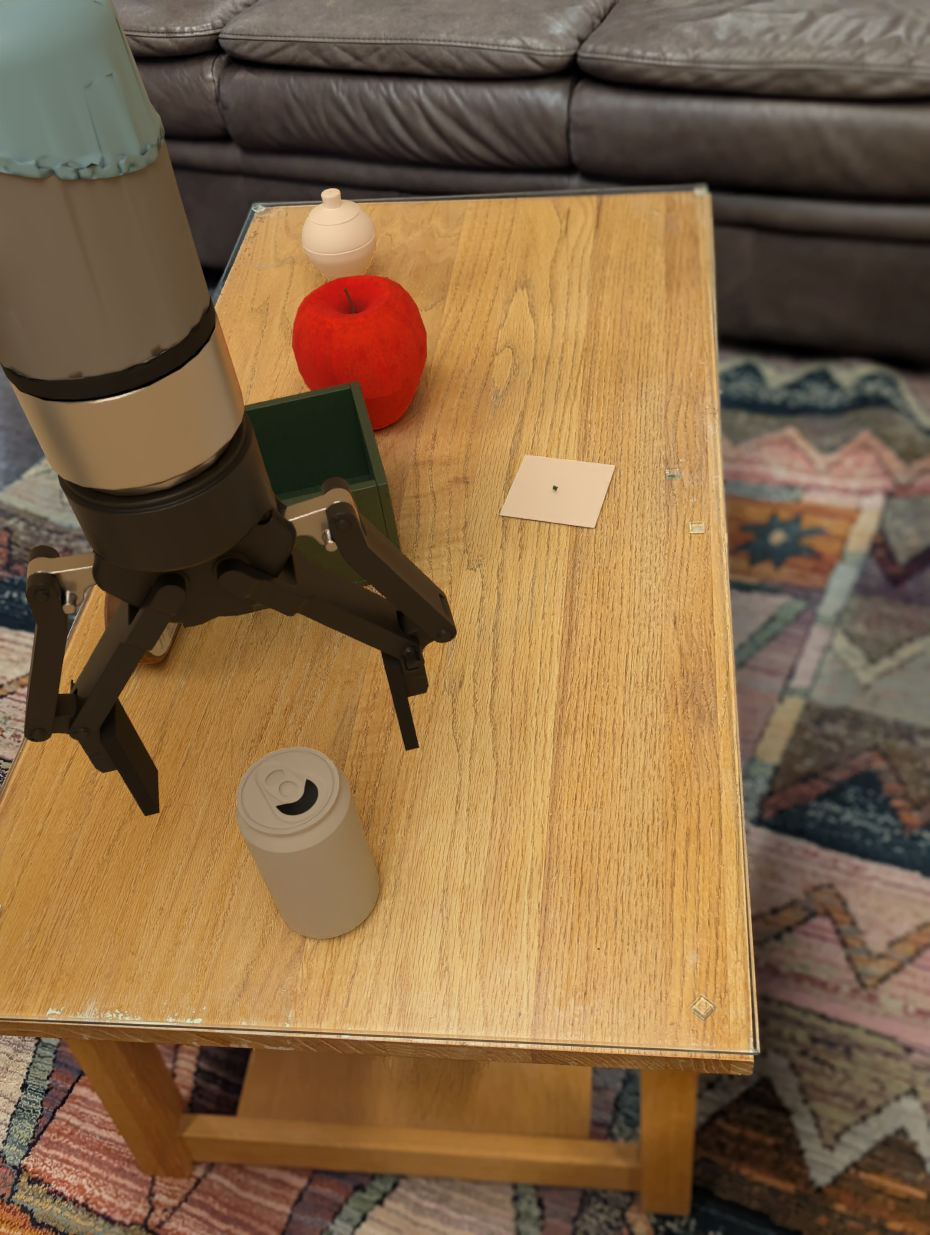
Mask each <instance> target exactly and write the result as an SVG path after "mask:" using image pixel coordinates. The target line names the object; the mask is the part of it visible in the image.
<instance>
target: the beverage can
mask: <svg viewBox="0 0 930 1235" xmlns="http://www.w3.org/2000/svg"><path fill="white" fill-rule="evenodd" d="M235 797H236V800H235V801H236V803H235V820H236V824H237V827H238V829H239V832H240V834H241V836H242V837H243V840H244V842H245V844H246V846H247V849H248V850H249V852H250V855H251V857H252V859H253V861H254V864H255V865H256V867H257V869H258V871H259V873H260V875H261V877H262V880H263V882H264V884H265V886H266V888H267V890H268V892H269V894H270V896H271V898H272V901H273V902H274V905H275V907H276V909H277V911H278V913H279V916H280V917H281V918H282V920H283V922H284V923H285V924H286V925H287V927H288V928H290V929H291V930H292V931H293V932H295V933H297V934H298V935H301V936H303V937H306V938H310V939H314V940H327V939H333V938H337V937H339V936H343V935H346V934H348V933H350V932H351V931H353V930H354V929H356V928H358V927H360V925H361V924H362V923H363V922H364V921H365V920H367V918H368V917H369V916H370V914H371V913H372V911H373V909H374V908H375V906H376V904H377V901H378V898H379V893H380V876H379V872H378V869H377V866H376V863H375V860H374V857H373V853H372V851H371V847H370V844H369V840H368V839H367V835H366V832H365V829H364V826H363V823H362V819H361V816H360V813H359V811H358V807H357V804H356V801H355V797H354V795H353V792H352V788H351V785H350V783H349V780H348V777H347V776H346V774H345V773H344V770H343V769H342V768H341V767H340V766H338V765H337V764H336V763H335V762H334V761H333V760H332V759H331V757H329V756H328V755H327V754H325V753H324V752H322V751H320V750H318V749H315V748H312V747H308V746H299V745H298V746H297V745H296V746H295V745H294V746H287V747H282V748H277V749H276V750H273V751H269V752H268V753H266V754H265V755H263V756H261V757H260V758H258V759H257V760H256V761H255V762H253V763H252V764H251V765H250V766H249V767H248V768H247V770H246V771H245V772H244V774H243V775H242V777H241V779H240V781H239V784H238V786H237V790H236V796H235Z"/></svg>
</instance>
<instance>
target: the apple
mask: <svg viewBox="0 0 930 1235" xmlns="http://www.w3.org/2000/svg"><path fill="white" fill-rule="evenodd" d="M427 335H428V333H427V330H426V327H425V324H424V321H423V317H422V314H421V313H420V310H419V306H418V304H417V303H416V302H415V300H414V298H413V297H412V296H411V294H410V293H409V291H407V289H405V288H404V287H403V286H402V285H401V284H400V283H399V282H397V281H395V280H393V279H391V278H389V277H386V276H380V275H379V276H378V275H373V274H365V275H358V276H349V277H341V278H337V279H334V280H332V281H329V280H328V281H327V282H325V283H323V284H321V285H320V286H318V287H317V288H315V289H313V290H312V291H311V292H309V293H308V294H307V295H306V296H304V298H303V299H302V301H301V302H300V304H299V305H298V307H297V310H296V314H295V317H294V320H293V325H292V334H291V347H292V352H293V355H294V358H295V359H294V360H295V362H296V365H297V369H298V372H299V375H300V376H301V378H302V380H303V382H304V384H305V385H306V386H307V388H308V389H309V391H313V390H318V389H322V388H327V387H332V386H336V385H341V384H345V383H351V382H356V381H359V383H360V386H361V390H362V393H363V397H364V400H365V404H366V408H367V411H368V415H369V418H370V422H371V425H372V429H373V431H376V430H380V429H384V428H387V427H389V426H390V425H392V424H394V423H395V422H397V421H398V420H399V419H401V418H402V417H403V415H404V414H405V413H406V411H407V410H408V408H409V406H410V404H411V403H412V401H413V399H414V398H415V395H416V392H417V389H418V386H419V383H420V381H421V378H422V375H423V372H424V369H425V367H426V362H427V357H428V336H427Z"/></svg>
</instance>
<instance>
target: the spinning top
mask: <svg viewBox="0 0 930 1235" xmlns="http://www.w3.org/2000/svg"><path fill="white" fill-rule="evenodd" d="M320 197H321V200H322V203H320V204H317V205H316V206H315V207H313V208H312V209H311V210H310V211H309V213H308V216H307V218H305V221H304V224H303V226H302V229H301V235H300V236H301V237H300V238H301V245H302V248H303V251H304V254H305V256H306V257H307V259H308V260H309V261H310V263H311V264H312V265H313V266H314V267H315V268H316V269H317V271H318V272H319V273H320V274H321V275H323V276H324V277H325V278H326V279H327V280H328V282H329V281H332V280H334V279H337V278H341V277H349V276H358V275H366V274H367V272H368V269H369V268H370V266H371V263H372V261H373V259H374V258H373V257H374V254H375V252H376V248H377V243H378V234H377V233H378V232H377V227H376V225H375V222H374V220H373V218H372V217H371V215H370V214H369V213H368V212H367V211H366V210H365V209H364V208H363V207H361V206H359V204H358V203H356V202H354V201H352V200H348V199H342V196H341V191H340V189H338V188H327V189H324V190H323V191H322V192H321V194H320Z"/></svg>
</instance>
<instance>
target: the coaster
mask: <svg viewBox="0 0 930 1235" xmlns="http://www.w3.org/2000/svg"><path fill="white" fill-rule="evenodd" d="M615 469H616V465H615V464H608V463H598V462H590V461H584V460H583V461H582V460H574V459H566V458H557V457H549V456H540V455H539V456H538V455H532V454H524V456H523V458H522V461H521V462H520V465H519V467H518V470H517V472H516V475H515V477H514V479H513V481H512V484H511V487H510V489H509V491H508V493H507V496H506V498H505V500H504V503H503V505H502V507H501V510H500V511H499V512H500V513H499V514H498V515H499V516H501V517H502V516H503V517H510V518H517V519H524V520H531V521H532V520H533V521H539V522H547V523H555V524H561V525H569V526H570V525H571V526H576V527H583V528H589V529H590V528H591V529H595V528H596V525H597V521H598V518H599V516H600V513H601V510H602V506H603V505H604V501H605V497H606V495H607V493H608V492H607V491H608V490H609V487H610V483H611V480H612V477H613V474H614V471H615Z"/></svg>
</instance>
